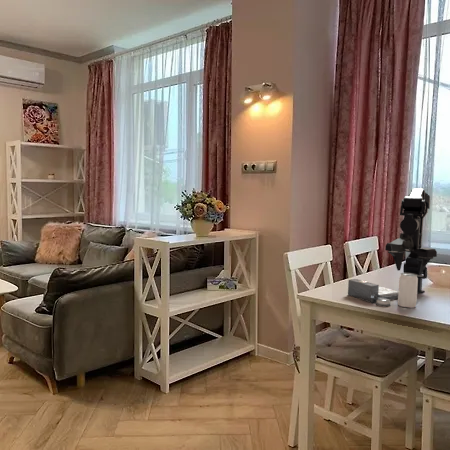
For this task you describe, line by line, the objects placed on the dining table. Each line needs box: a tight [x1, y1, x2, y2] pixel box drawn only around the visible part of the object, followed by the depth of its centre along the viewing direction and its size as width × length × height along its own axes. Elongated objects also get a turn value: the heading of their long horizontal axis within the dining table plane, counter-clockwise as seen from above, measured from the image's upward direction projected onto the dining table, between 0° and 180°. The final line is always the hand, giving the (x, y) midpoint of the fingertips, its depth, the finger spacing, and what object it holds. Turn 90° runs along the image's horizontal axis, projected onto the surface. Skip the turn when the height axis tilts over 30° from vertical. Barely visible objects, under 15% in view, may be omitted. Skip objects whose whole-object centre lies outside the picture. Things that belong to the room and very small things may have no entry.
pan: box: [378, 286, 399, 297], centre depth 188 cm, size 11×11×1 cm
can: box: [397, 272, 418, 309], centre depth 174 cm, size 6×6×12 cm
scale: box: [347, 278, 398, 304], centre depth 187 cm, size 16×13×7 cm
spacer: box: [375, 298, 391, 307], centre depth 175 cm, size 5×5×2 cm
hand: (408, 272), depth 173 cm, fingers open, 9 cm apart
